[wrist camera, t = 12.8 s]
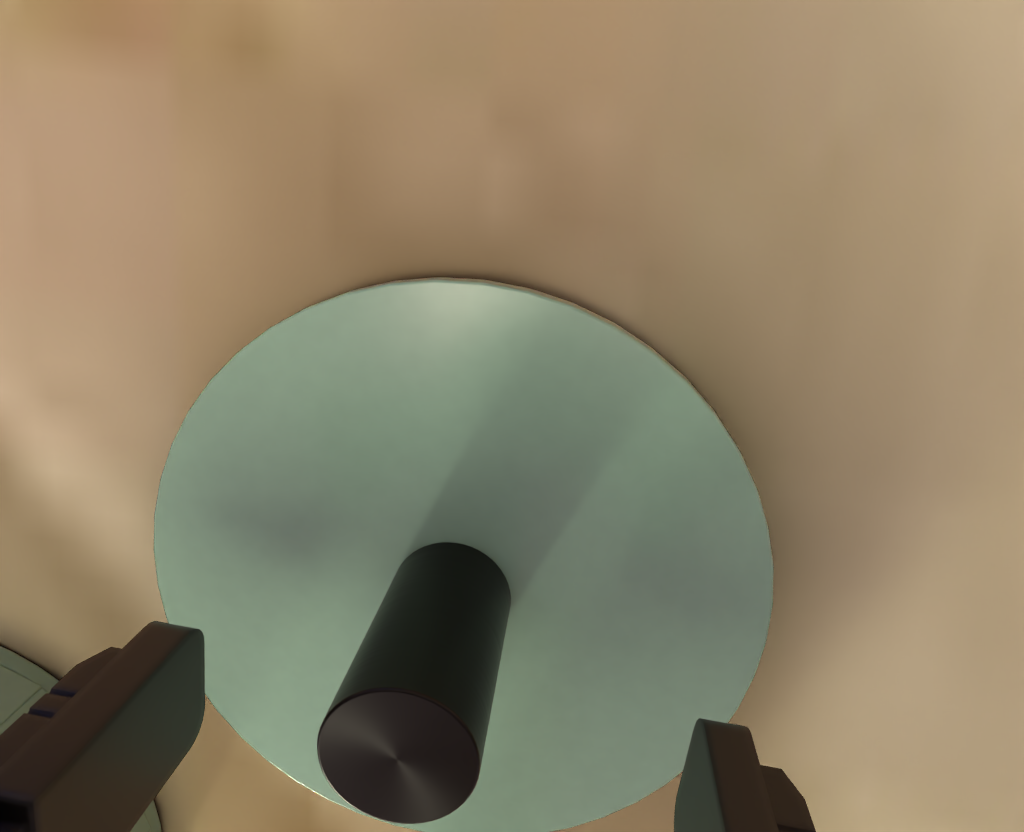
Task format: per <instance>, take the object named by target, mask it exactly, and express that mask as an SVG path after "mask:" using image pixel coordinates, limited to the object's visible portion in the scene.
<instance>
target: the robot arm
mask: <svg viewBox="0 0 1024 832" xmlns="http://www.w3.org/2000/svg"><path fill="white" fill-rule="evenodd" d="M204 710H205V642H204V635H203V632H202V631H201V630H200V629H196V628H191V627H185V626H180V625H174V624H169V623H163V622H158V621H154V622H151V623H149V624H148V625H147V626H145V627H144V628H143V629H142V630H141V631H140V632H139V633H138V634H137V635H136V636H135V637H134V638H133V639H132V640H131V641H130V642H129V643H128V644H127V645H126V646H125V647H124V648H123V649H119V648H114V647H110V648H108V649H106V650H104V651H102V652H100V653H99V654H97V655H95V656H93V657H91V658H89V659H87V660H85V661H83V662H81V663H79V664H77V665H76V666H75V667H74V668H73V669H72V670H71V671H69V672H68V673H67V674H66V675H65V676H64V677H63V678H62V679H61V680H60V681H59V682H57V683H56V684H55V685H54V686H53V687H52V688H51V691H50V693H49V694H48V693H45V694H44V695H43V696H42V697H41V698H40V699H39V700H38V701H37V702H36V703H35V704H33V705H32V706H31V707H30V709H29V712H28V713H27V714H26V713H24V714H23V715H21V716H20V717H19V718H18V719H17V720H16V721H15V722H14V723H13V724H12V725H11V726H9V727H8V728H7V729H6V730H5V731H4V732H3V733H2V734H1V735H0V832H130V831H131V830H132V828H133V827H134V825H135V824H136V823H137V821H138V820H139V819H140V817H141V816H142V814H143V813H144V812H145V810H146V809H147V808H148V806H149V805H150V803H151V802H152V801H153V799H154V798H155V796H156V795H157V794H158V792H159V791H160V790H161V788H162V787H163V785H164V784H165V783H166V781H167V780H168V779H169V777H170V776H171V774H172V773H173V772H174V770H175V769H176V768H177V766H178V765H179V763H180V762H181V761H182V759H183V758H184V757H185V755H186V754H187V752H188V751H189V750H190V748H191V747H192V745H193V743H194V741H195V739H196V737H197V735H198V733H199V730H200V727H201V724H202V720H203V716H204ZM674 832H816V831H815V828H814V825H813V822H812V819H811V816H810V813H809V810H808V807H807V804H806V801H805V799H804V797H803V796H802V795H801V794H800V792H799V791H798V790H797V788H796V787H795V786H794V785H793V783H792V782H791V781H790V779H789V778H788V777H787V776H786V774H785V773H784V772H783V770H782V769H779V768H773V767H768V766H762V765H760V764H759V760H758V756H757V753H756V749H755V746H754V742H753V739H752V735H751V732H750V730H749V729H748V728H747V727H745V726H740V725H735V724H729V723H723V722H718V721H712V720H707V719H701V718H699V719H698V720H697V721H696V723H695V726H694V729H693V733H692V737H691V741H690V745H689V749H688V753H687V757H686V761H685V765H684V769H683V773H682V777H681V781H680V785H679V789H678V793H677V798H676V805H675V816H674Z"/></svg>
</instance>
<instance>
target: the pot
mask: <svg viewBox="0 0 1024 832" xmlns="http://www.w3.org/2000/svg"><path fill="white" fill-rule="evenodd" d="M57 682H59V680H57V679H56V678H54V677H53V676H52V675H50V674H49V673H47V672H46V671H45V670H43V669H42V668H40V667H39V666H37V665H35V664H33V663H32V662H30V661H28V660H26V659H25V658H23V657H21V656H19V655H18V654H16V653H14V652H12V651H10V650H8V649H6V648H4V647H1V646H0V735H1V734H2V733H3V732H4V731H5V730H6V729H7V728H8V727H9V726H11V725H12V724H13V723H14V722H15V721H16V720H17V719H18V718H19V717H20V716H21V715H23V714H24V713H26V714H27V713H28V712H29V709H30V707H31V706H32V705H33V704H35V703H36V702H37V701H38V700H39V699H40V698H41V697H42V696H43V695H44V694H45V693H48V694H49V693H50V691H51V688H52V687H53V686H54V685H55V684H56V683H57ZM130 832H161V824H160V821H159V817H158V814H157V810H156V806H155V803H154V800H153V801H152V802H151V803H150V805H149V806H148V808H147V809H146V810H145V812H144V813H143V814H142V816H141V817H140V819H139V820H138V821H137V823H136V824H135V825H134V827H133V828H132V830H131V831H130Z"/></svg>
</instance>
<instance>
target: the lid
mask: <svg viewBox="0 0 1024 832" xmlns="http://www.w3.org/2000/svg"><path fill="white" fill-rule="evenodd" d="M154 555H155V564H156V572H157V581H158V587H159V591H160V594H161V598H162V602H163V606H164V610H165V614H166V618H167V620H168V623H169V624H174V625H180V626H185V627H191V628H196V629H200V630H201V631H202V632H203V635H204V642H205V694H206V696H207V697H208V698H209V700H210V701H211V703H212V704H213V705H214V707H215V708H216V710H217V711H218V712H219V713H220V714H221V715H222V716H223V718H224V719H225V720H226V721H227V722H228V723H229V724H230V725H231V726H232V728H233V729H234V730H235V731H236V732H237V733H238V734H239V735H240V736H241V737H242V738H243V739H244V740H245V741H246V742H247V743H248V744H249V745H250V746H252V747H253V748H254V749H255V750H256V751H257V752H258V753H259V754H261V755H262V756H263V757H264V758H265V759H266V760H267V761H269V762H270V763H271V764H273V765H274V766H275V767H277V768H278V769H280V770H281V771H282V772H284V773H285V774H287V775H288V776H289V777H291V778H292V779H294V780H295V781H296V782H298V783H300V784H301V785H303V786H305V787H307V788H308V789H310V790H312V791H314V792H315V793H317V794H319V795H321V796H322V797H324V798H326V799H328V800H330V801H332V802H334V803H337V804H339V805H341V806H343V807H346V808H348V809H350V810H352V811H354V812H357V813H359V814H361V815H364V816H368V817H371V818H374V819H377V820H380V821H383V822H386V823H389V824H392V825H395V826H399V827H404V828H408V829H413V830H417V831H422V832H553V831H558V830H563V829H568V828H572V827H575V826H578V825H581V824H584V823H587V822H591V821H594V820H597V819H600V818H603V817H606V816H608V815H610V814H612V813H614V812H617V811H619V810H621V809H623V808H625V807H628V806H630V805H632V804H634V803H636V802H638V801H640V800H641V799H643V798H645V797H646V796H648V795H649V794H651V793H653V792H654V791H656V790H658V789H659V788H661V787H663V786H664V785H666V784H667V783H668V782H670V781H671V780H672V779H673V778H675V777H676V776H677V775H678V774H680V773H681V772H682V771H683V769H684V765H685V761H686V757H687V753H688V749H689V745H690V741H691V737H692V733H693V729H694V726H695V723H696V721H697V720H698V719H699V718H701V719H707V720H712V721H718V722H723V723H728V722H729V720H730V719H731V717H732V716H733V715H734V713H735V712H736V710H737V709H738V707H739V705H740V704H741V702H742V700H743V698H744V696H745V694H746V692H747V690H748V688H749V686H750V684H751V682H752V680H753V678H754V676H755V673H756V670H757V667H758V664H759V661H760V659H761V656H762V653H763V650H764V647H765V644H766V641H767V635H768V629H769V623H770V618H771V612H772V606H773V572H774V566H773V558H772V551H771V543H770V536H769V528H768V524H767V521H766V518H765V514H764V511H763V507H762V504H761V500H760V497H759V493H758V490H757V487H756V485H755V483H754V481H753V479H752V477H751V474H750V472H749V470H748V468H747V466H746V463H745V461H744V459H743V457H742V455H741V453H740V451H739V449H738V447H737V445H736V444H735V442H734V441H733V439H732V438H731V436H730V434H729V433H728V431H727V430H726V428H725V427H724V425H723V424H722V422H721V421H720V419H719V417H718V416H717V414H716V413H715V411H714V410H713V408H712V407H711V406H710V405H709V404H708V403H707V402H706V400H705V399H704V398H703V397H702V396H701V395H700V393H699V392H698V391H697V390H696V389H695V388H694V387H693V385H692V384H691V383H690V382H689V381H688V380H687V378H686V377H685V376H684V375H682V374H681V373H680V372H679V371H678V370H677V369H676V368H674V367H673V366H672V365H671V364H670V363H669V362H668V361H666V360H665V359H664V358H663V357H662V356H661V355H660V354H658V353H657V352H656V351H655V350H654V349H653V348H652V347H650V346H649V345H647V344H646V343H644V342H643V341H641V340H640V339H638V338H636V337H635V336H633V335H632V334H630V333H629V332H627V331H626V330H624V329H623V328H621V327H620V326H618V325H617V324H615V323H614V322H612V321H610V320H608V319H606V318H603V317H601V316H599V315H597V314H595V313H593V312H591V311H589V310H587V309H585V308H583V307H581V306H579V305H577V304H575V303H572V302H569V301H566V300H563V299H560V298H557V297H554V296H551V295H548V294H545V293H542V292H539V291H536V290H533V289H530V288H526V287H520V286H515V285H510V284H505V283H499V282H494V281H489V280H482V279H464V278H446V277H435V278H422V279H409V280H397V281H391V282H387V283H382V284H378V285H373V286H368V287H364V288H359V289H355V290H351V291H349V292H346V293H343V294H341V295H338V296H335V297H333V298H330V299H327V300H324V301H322V302H319V303H316V304H314V305H311V306H309V307H307V308H305V309H303V310H301V311H299V312H298V313H296V314H294V315H292V316H290V317H288V318H287V319H285V320H283V321H281V322H279V323H277V324H276V325H274V326H272V327H270V328H269V329H268V330H266V331H265V332H264V333H262V334H261V335H260V336H258V337H257V338H256V339H254V340H253V341H252V342H250V343H249V344H248V345H246V346H245V347H244V348H242V349H241V350H240V351H238V352H237V353H236V354H235V355H234V356H233V357H232V359H231V360H230V361H229V362H228V363H227V364H226V365H225V366H224V367H223V368H222V369H221V370H220V371H219V372H218V373H217V374H216V375H215V376H214V377H213V378H212V379H211V380H210V382H209V383H208V384H207V386H206V387H205V389H204V390H203V391H202V393H201V394H200V396H199V397H198V398H197V400H196V401H195V403H194V404H193V405H192V407H191V408H190V410H189V411H188V413H187V415H186V417H185V419H184V421H183V423H182V425H181V427H180V429H179V431H178V433H177V435H176V437H175V439H174V441H173V443H172V445H171V448H170V452H169V455H168V458H167V461H166V464H165V467H164V470H163V473H162V476H161V479H160V485H159V491H158V497H157V503H156V509H155V518H154Z"/></svg>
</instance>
